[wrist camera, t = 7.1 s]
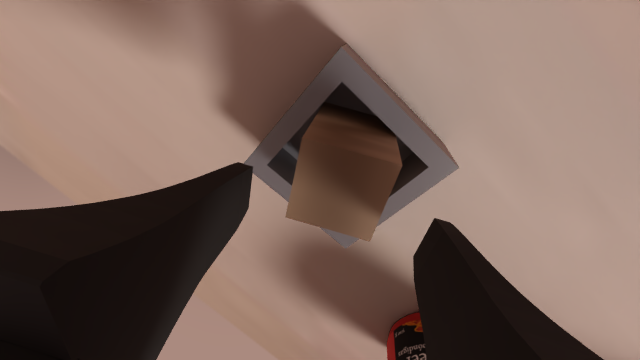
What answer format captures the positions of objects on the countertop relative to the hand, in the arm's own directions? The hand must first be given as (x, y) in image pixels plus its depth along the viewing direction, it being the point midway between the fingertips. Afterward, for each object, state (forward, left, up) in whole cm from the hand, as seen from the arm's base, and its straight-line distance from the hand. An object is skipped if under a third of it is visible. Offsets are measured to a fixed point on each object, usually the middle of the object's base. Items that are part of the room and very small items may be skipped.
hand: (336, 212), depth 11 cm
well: (0, 0, -8) cm, 8 cm away
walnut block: (0, 0, -7) cm, 7 cm away
